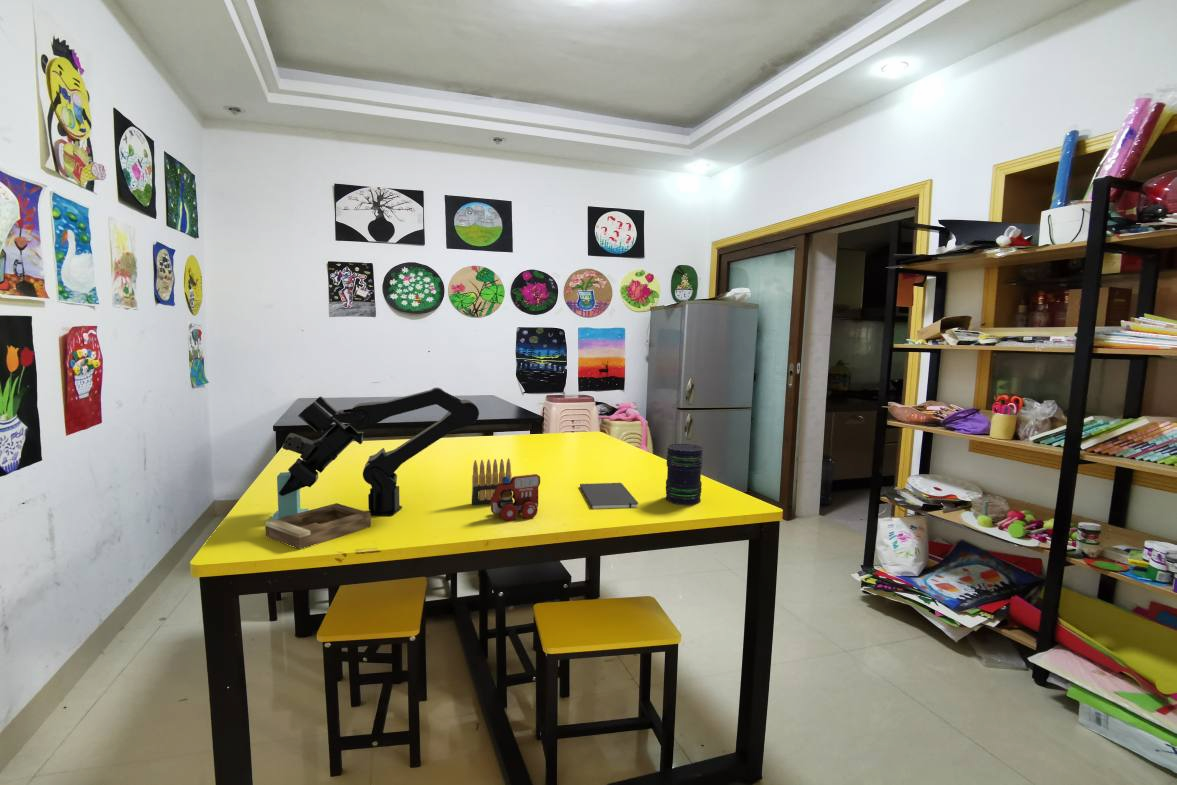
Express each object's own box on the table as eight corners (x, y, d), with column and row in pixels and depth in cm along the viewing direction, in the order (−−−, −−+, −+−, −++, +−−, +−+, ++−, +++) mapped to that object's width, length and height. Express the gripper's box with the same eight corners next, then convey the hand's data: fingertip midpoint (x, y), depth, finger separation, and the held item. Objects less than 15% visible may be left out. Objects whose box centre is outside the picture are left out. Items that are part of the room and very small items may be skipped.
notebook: (579, 488, 166) (591, 511, 145) (579, 483, 166) (592, 505, 145) (621, 487, 168) (639, 509, 147) (621, 482, 168) (639, 503, 147)
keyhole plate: (336, 516, 136) (336, 503, 135) (370, 526, 129) (370, 512, 128) (265, 536, 121) (265, 522, 121) (299, 549, 114) (299, 534, 114)
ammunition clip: (472, 505, 146) (472, 460, 145) (471, 503, 148) (471, 459, 147) (512, 502, 150) (512, 458, 148) (511, 500, 151) (511, 457, 150)
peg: (308, 513, 138) (307, 469, 137) (303, 522, 131) (301, 476, 130) (276, 515, 135) (275, 471, 134) (270, 524, 129) (268, 478, 128)
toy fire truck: (487, 514, 139) (487, 473, 138) (534, 509, 144) (535, 470, 143) (494, 523, 133) (494, 480, 132) (543, 517, 138) (543, 476, 137)
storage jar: (668, 505, 150) (670, 450, 148) (662, 494, 160) (664, 443, 158) (705, 505, 150) (707, 451, 149) (696, 495, 160) (698, 444, 158)
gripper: (311, 416, 141) (264, 461, 139) (297, 428, 123) (242, 480, 121) (345, 445, 144) (300, 490, 142) (337, 461, 126) (284, 512, 124)
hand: (282, 492), depth 132 cm, fingers closed on peg, 4 cm apart
